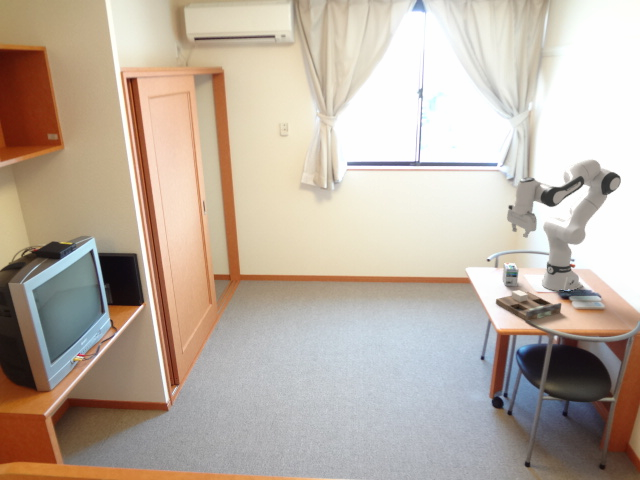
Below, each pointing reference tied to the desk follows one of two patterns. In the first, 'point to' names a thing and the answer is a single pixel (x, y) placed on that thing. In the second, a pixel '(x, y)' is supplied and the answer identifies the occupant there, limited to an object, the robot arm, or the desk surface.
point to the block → (519, 296)
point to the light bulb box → (510, 274)
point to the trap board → (529, 307)
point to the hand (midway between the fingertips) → (519, 234)
